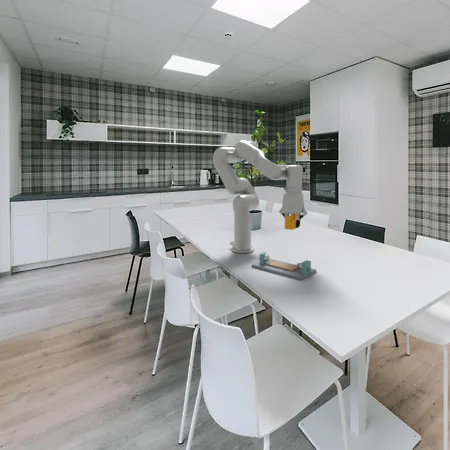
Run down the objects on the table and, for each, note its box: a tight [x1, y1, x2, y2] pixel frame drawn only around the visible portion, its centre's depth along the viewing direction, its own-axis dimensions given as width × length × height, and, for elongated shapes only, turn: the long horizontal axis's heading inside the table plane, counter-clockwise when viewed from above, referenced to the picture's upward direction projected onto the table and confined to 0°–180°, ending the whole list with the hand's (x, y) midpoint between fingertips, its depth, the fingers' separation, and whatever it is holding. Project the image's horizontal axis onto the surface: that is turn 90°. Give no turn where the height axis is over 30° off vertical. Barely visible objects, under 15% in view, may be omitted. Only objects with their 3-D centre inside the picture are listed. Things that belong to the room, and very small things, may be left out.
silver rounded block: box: [296, 262, 310, 271], centre depth 135 cm, size 4×3×3 cm, turn 48°
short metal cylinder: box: [258, 254, 271, 262], centre depth 148 cm, size 4×3×3 cm, turn 73°
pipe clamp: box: [284, 214, 297, 231], centre depth 154 cm, size 12×4×6 cm, turn 151°
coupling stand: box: [251, 251, 317, 281], centre depth 142 cm, size 26×14×6 cm, turn 48°
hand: (292, 226), depth 154 cm, fingers closed on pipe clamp, 4 cm apart
